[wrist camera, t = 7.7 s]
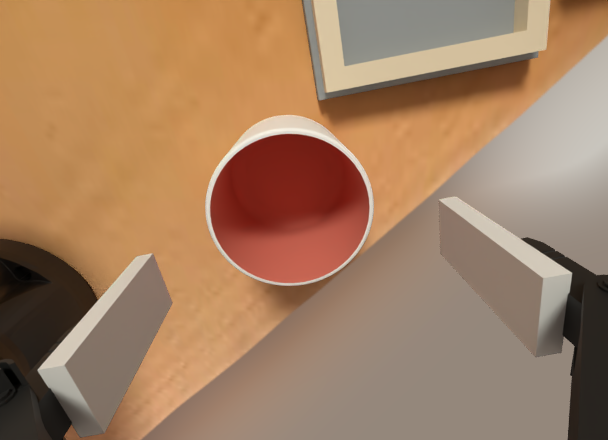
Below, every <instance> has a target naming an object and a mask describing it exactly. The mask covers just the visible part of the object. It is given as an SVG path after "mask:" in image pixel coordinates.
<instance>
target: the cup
mask: <svg viewBox="0 0 608 440" xmlns="http://www.w3.org/2000/svg"><path fill="white" fill-rule="evenodd" d="M205 208H206V219H207V224H208V228H209V231H210V234H211V237H212V239H213V241H214V243H215V245H216V246H217V248H218V250H219V251H220V252H221V254H222V255H223V256H224V257H225V258H226V260H227V261H228V262H229V263H231V264H232V265H233V266H234V267H235V268H236V269H238V270H239V271H241V272H242V273H244V274H246V275H247V276H249V277H251V278H253V279H256V280H258V281H261V282H265V283H268V284H273V285H280V286H299V285H305V284H310V283H314V282H317V281H320V280H323V279H325V278H327V277H329V276H331V275H333V274H334V273H336V272H338V271H339V270H340V269H342V268H343V267H345V266H346V265H347V264H348V263H349V262H350V261H351V260H352V259H353V258H354V257H355V256H356V254H357V253H358V252H359V250H360V249H361V248H362V246H363V244H364V242H365V240H366V239H367V236H368V234H369V231H370V228H371V224H372V220H373V212H374V200H373V193H372V188H371V184H370V181H369V179H368V176H367V174H366V172H365V170H364V168H363V167H362V165H361V164H360V162H359V161H358V160H357V158H356V157H355V156H354V155H353V154H352V153H351V152H350V151H349V150H348V149H347V148H346V147H345V146H344V145H343V144H342V143H341V142H340V141H339V140H338V139H337V138H336V137H335V136H334V135H333V134H332V133H331V132H330V131H329V130H328V129H326V128H325V127H324V126H322V125H321V124H319V123H317V122H315V121H313V120H311V119H308V118H305V117H302V116H296V115H280V116H274V117H270V118H267V119H264V120H262V121H260V122H258V123H256V124H255V125H253V126H252V127H250V128H249V129H248V130H247V131H246V132H245V133H244V134H243V135H242V136H241V137H240V138H239V140H238V141H237V142H236V143H235V144H234V146H233V147H232V148H231V149H230V151H229V152H228V153H227V154H226V156H225V157H224V158H223V159H222V161H221V162H220V163H219V165H218V166H217V168H216V170H215V172H214V173H213V175H212V178H211V180H210V183H209V186H208V190H207V195H206V204H205Z"/></svg>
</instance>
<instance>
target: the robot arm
mask: <svg viewBox="0 0 608 440" xmlns="http://www.w3.org/2000/svg"><path fill="white" fill-rule="evenodd" d="M439 225H440V253H441V255H442V256H443V257H444V258H445V259H446V260H447V261H448V262H449V263H450V264H451V266H453V268H454V269H455V270H456V271H457V272H458V273H459V274H460V275H461V276H462V278H463V279H464V280H465V281H466V282H467V283H468V284H469V285H470V286H471V287H472V289H473V290H474V291H475V292H476V293H477V294H478V295H479V296H480V297H481V298H482V299H483V301H484V302H485V303H486V304H487V305H488V306H489V307H490V308H491V309H492V310H493V311H494V313H495V314H496V315H497V316H498V317H499V318H500V319H501V320H502V321H503V322H504V323H505V324H506V326H507V327H508V328H509V329H510V330H511V331H512V332H513V333H514V334H515V335H516V337H517V338H518V339H519V340H520V341H521V342H522V343H523V344H524V345H525V346H526V347H527V349H528V350H529V351H530V352H531V353H532V354H533V355H534V356H535V357H540V356H546V355H551V354H557V353H561V351H562V345H563V337H565V338H566V339H568V340H569V341H570V342H571V343H572V344H573V345H574V346H575V347H574V354H573V360H572V367H571V374H570V375H571V376H572V383H571V398H570V413H569V428H568V440H608V275H595V274H594V273H592V272H590V271H589V270H587V269H585V268H584V267H582V266H581V265H579V264H577V263H576V262H574V261H572V260H571V259H569V258H567V257H565V256H564V255H563V254H561V253H559V252H558V251H555V250H554V249H553V248H551V247H550V246H548V245H546V244H544V243H543V242H540V241H537V240H534V239H530V238H523V239H520V238H518V237H516V236H515V235H513V234H512V233H510V232H509V231H507V230H506V229H504V228H503V227H501V226H500V225H498V224H497V223H495V222H494V221H492V220H491V219H489V218H488V217H486V216H485V215H483V214H482V213H480V212H478V211H477V210H475V209H474V208H472V207H471V206H469V205H468V204H466V203H465V202H463V201H462V200H460V199H459V198H457V197H450V198H445V199H440V200H439ZM171 305H172V300H171V298H170V295H169V293H168V290H167V287H166V285H165V282H164V280H163V277H162V275H161V272H160V270H159V267H158V265H157V262H156V260H155V257H154V255H153V253H152V254H147V255H141V256H137V257H136V258H135V259H134V260H133V261H132V262H131V263H130V265H129V266H128V267H127V268H126V269H125V270H124V271H123V273H122V274H121V275H120V276H119V277H118V278H117V279H116V281H115V282H114V283H113V284H112V285H111V286H110V287H109V289H108V290H107V291H106V292H105V293H104V294H103V295H102V297H101V298H100V299H99V300H98V301H97V300H96V298H95V296H94V294H93V292H92V290H91V289H90V287H89V286H88V284H87V283H86V282H85V280H84V279H83V278H82V277H81V276H80V275H79V274H78V273H77V272H76V271H75V270H74V269H73V268H72V267H70V266H69V265H68V264H66V263H65V262H64V261H62V260H61V259H59V258H58V257H56V256H54V255H52V254H51V253H49V252H47V251H44V250H42V249H40V248H37V247H35V246H32V245H29V244H25V243H22V242H17V241H12V240H5V239H0V440H66V439H65V438H64V435H65V434H66V432H67V431H68V429H69V427H70V426H71V424H72V426H73V427H74V429H75V430H76V432H77V434H78V435H79V437H80V438H81V437H87V436H92V435H98V434H104V433H105V431H106V430H107V428H108V426H109V424H110V422H111V420H112V418H113V416H114V414H115V412H116V410H117V408H118V407H119V405H120V403H121V401H122V399H123V397H124V395H125V393H126V391H127V389H128V387H129V385H130V384H131V382H132V380H133V378H134V376H135V374H136V372H137V370H138V368H139V366H140V364H141V362H142V361H143V359H144V357H145V355H146V353H147V351H148V349H149V347H150V345H151V343H152V341H153V339H154V338H155V336H156V334H157V332H158V330H159V328H160V326H161V324H162V322H163V320H164V318H165V316H166V315H167V313H168V311H169V309H170V307H171Z"/></svg>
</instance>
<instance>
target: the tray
mask: <svg viewBox="0 0 608 440" xmlns="http://www.w3.org/2000/svg"><path fill="white" fill-rule="evenodd" d="M302 4H303V10H304V17H305V23H306V29H307V36H308V42H309V48H310V55H311V61H312V67H313V74H314V80H315V86H316V93H317V99H318V100H324V99H329V98H334V97H339V96H344V95H349V94H354V93H359V92H365V91H370V90H375V89H380V88H385V87H390V86H395V85H400V84H405V83H410V82H415V81H420V80H426V79H431V78H436V77H441V76H446V75H451V74H456V73H461V72H466V71H471V70H476V69H481V68H487V67H492V66H497V65H502V64H507V63H512V62H517V61H522V60H527V59H532V58H537V57H538V51H542V50H546V47H547V34H548V22H549V10H550V0H302Z"/></svg>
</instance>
